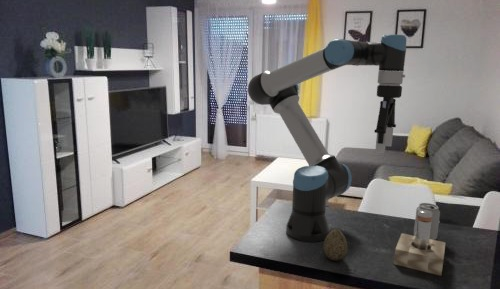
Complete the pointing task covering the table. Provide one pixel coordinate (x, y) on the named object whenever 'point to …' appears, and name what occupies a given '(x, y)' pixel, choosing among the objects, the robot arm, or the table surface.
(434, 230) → the can
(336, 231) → the decorative egg
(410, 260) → the collar
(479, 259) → the table surface
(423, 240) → the tube
